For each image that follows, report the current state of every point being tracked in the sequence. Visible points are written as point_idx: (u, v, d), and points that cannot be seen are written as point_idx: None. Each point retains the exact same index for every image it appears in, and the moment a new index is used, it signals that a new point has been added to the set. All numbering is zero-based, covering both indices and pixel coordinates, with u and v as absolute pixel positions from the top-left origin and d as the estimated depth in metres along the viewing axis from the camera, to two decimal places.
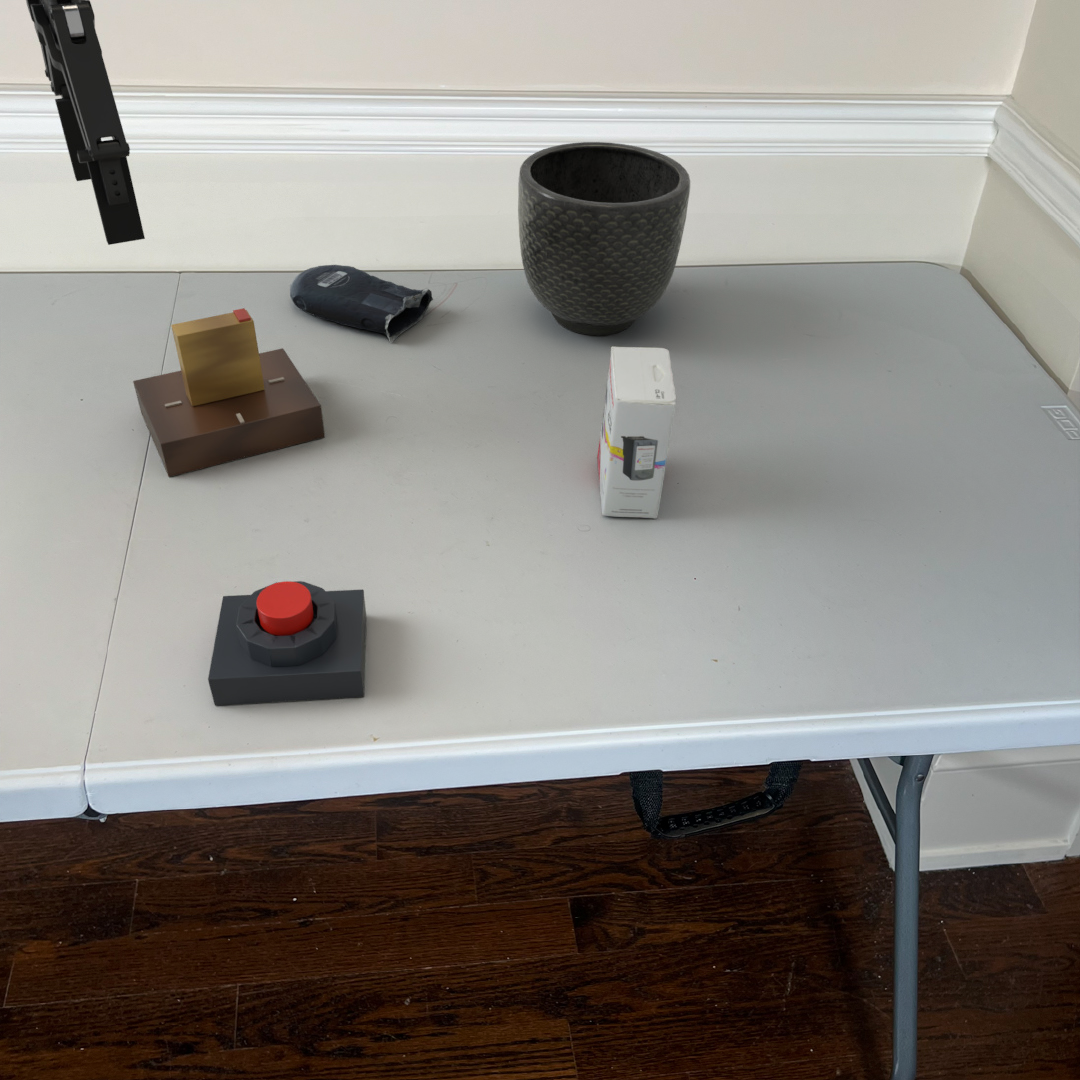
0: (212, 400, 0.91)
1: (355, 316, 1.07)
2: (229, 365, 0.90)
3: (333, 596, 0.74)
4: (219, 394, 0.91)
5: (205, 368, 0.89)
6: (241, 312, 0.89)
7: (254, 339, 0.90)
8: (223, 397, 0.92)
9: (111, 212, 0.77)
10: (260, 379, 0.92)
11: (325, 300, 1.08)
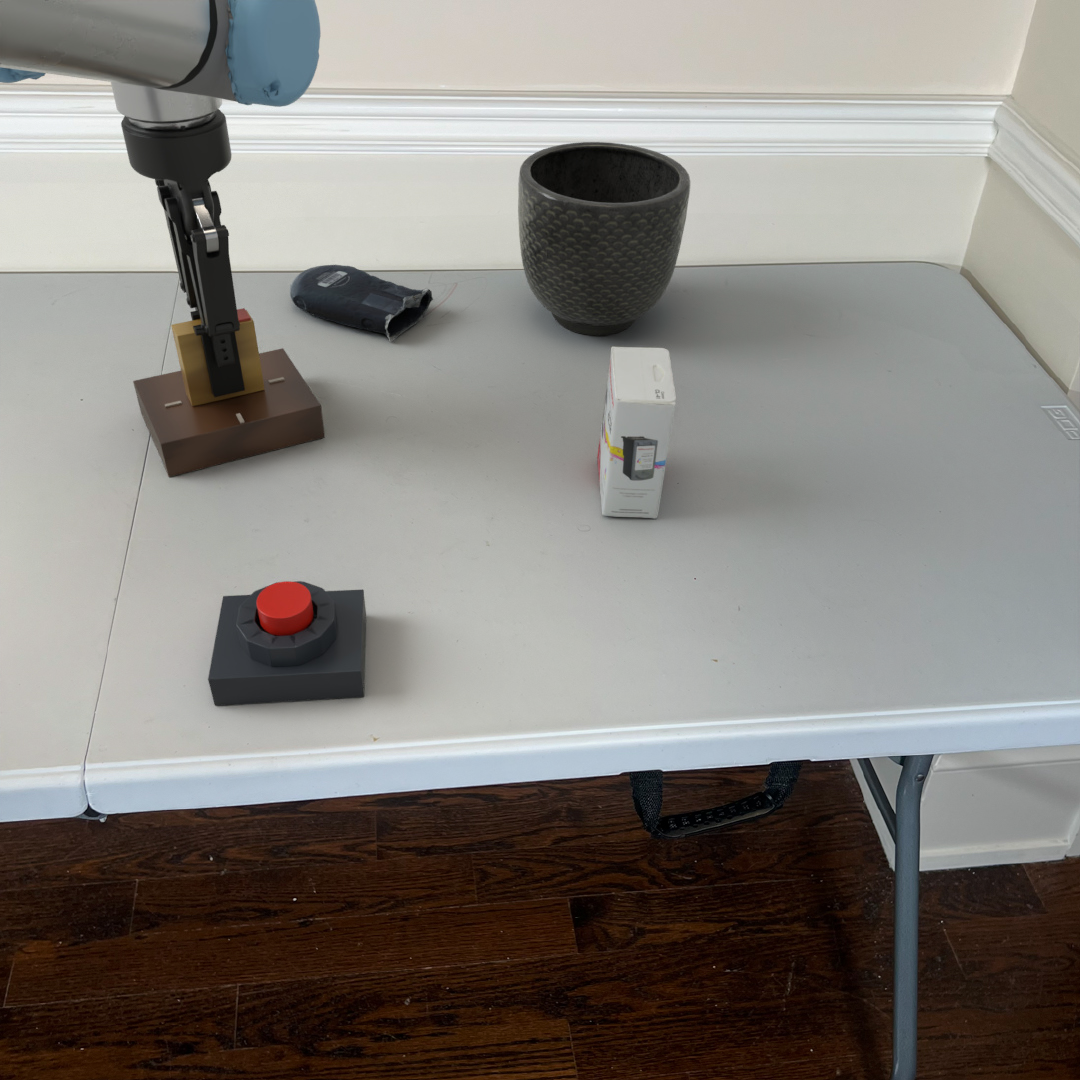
0: (212, 400, 0.91)
1: (355, 316, 1.07)
2: None
3: (333, 596, 0.74)
4: None
5: (205, 368, 0.89)
6: (241, 312, 0.89)
7: (254, 339, 0.90)
8: (223, 397, 0.92)
9: (218, 371, 0.89)
10: (260, 379, 0.92)
11: (325, 300, 1.08)
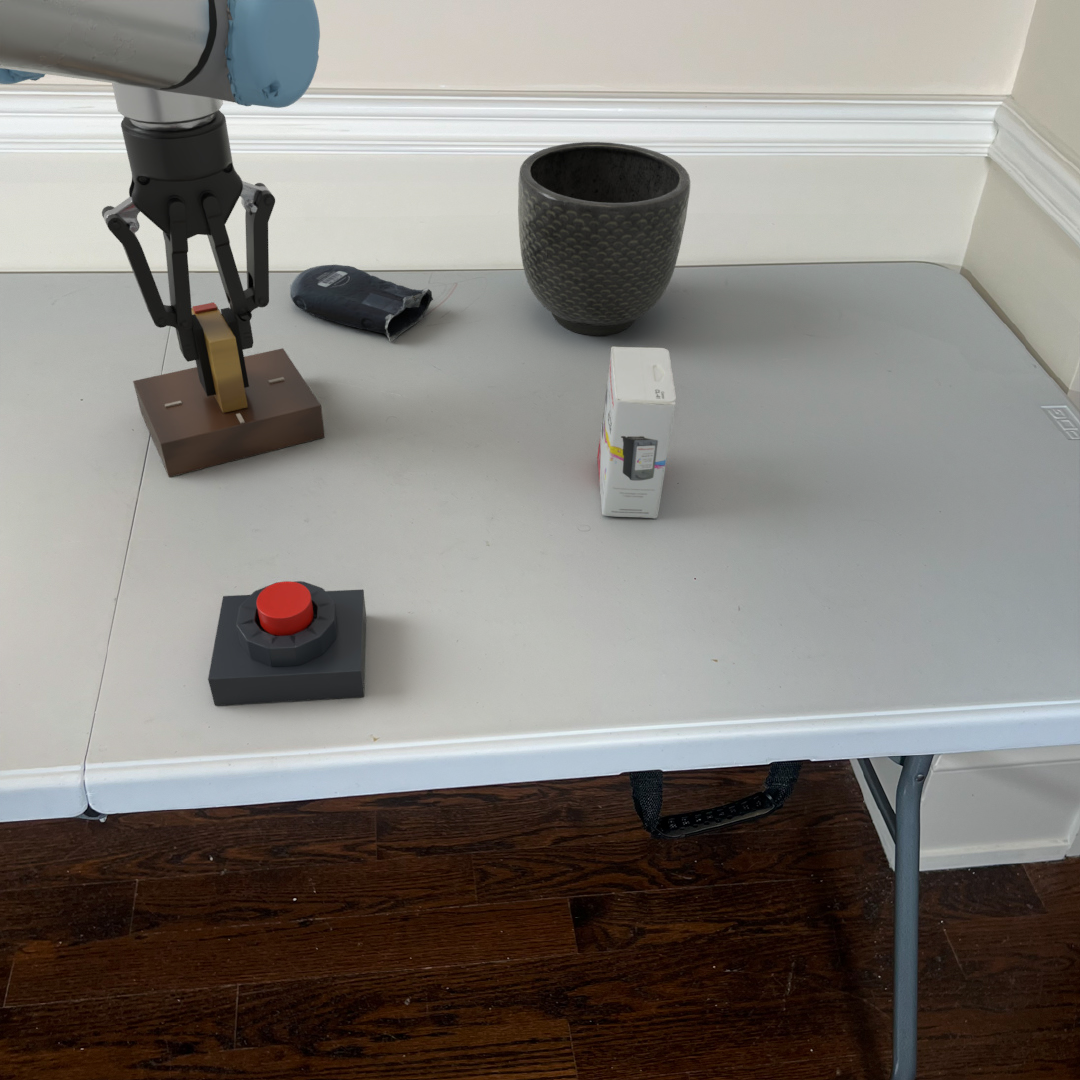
0: None
1: (355, 316, 1.07)
2: None
3: (333, 596, 0.74)
4: None
5: None
6: (201, 307, 0.90)
7: None
8: None
9: None
10: None
11: (325, 300, 1.08)
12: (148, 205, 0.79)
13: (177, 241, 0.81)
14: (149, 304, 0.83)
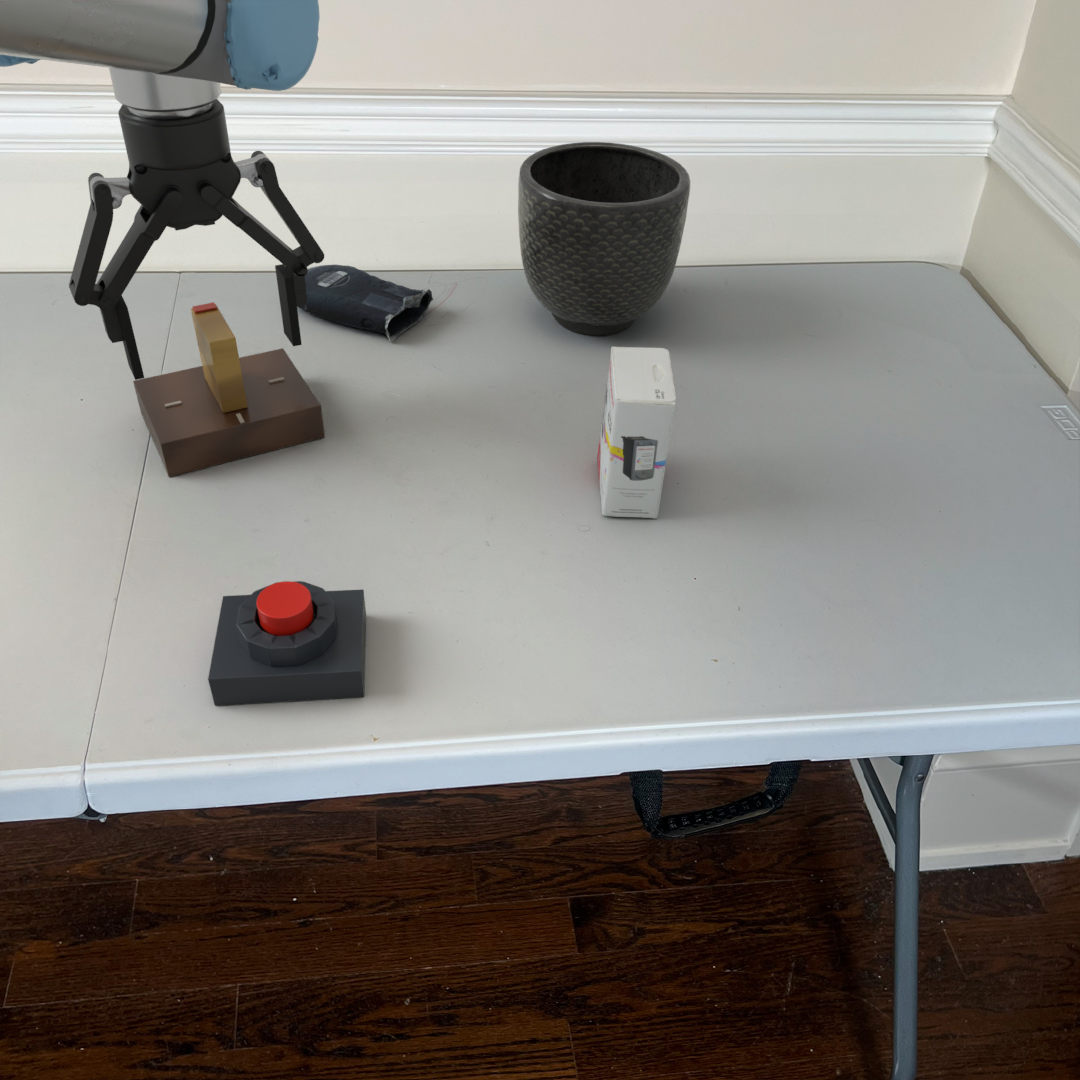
0: None
1: (355, 316, 1.07)
2: None
3: (333, 596, 0.74)
4: None
5: None
6: (201, 307, 0.90)
7: None
8: None
9: None
10: None
11: (325, 299, 1.08)
12: (142, 193, 0.78)
13: (154, 225, 0.79)
14: (82, 277, 0.79)
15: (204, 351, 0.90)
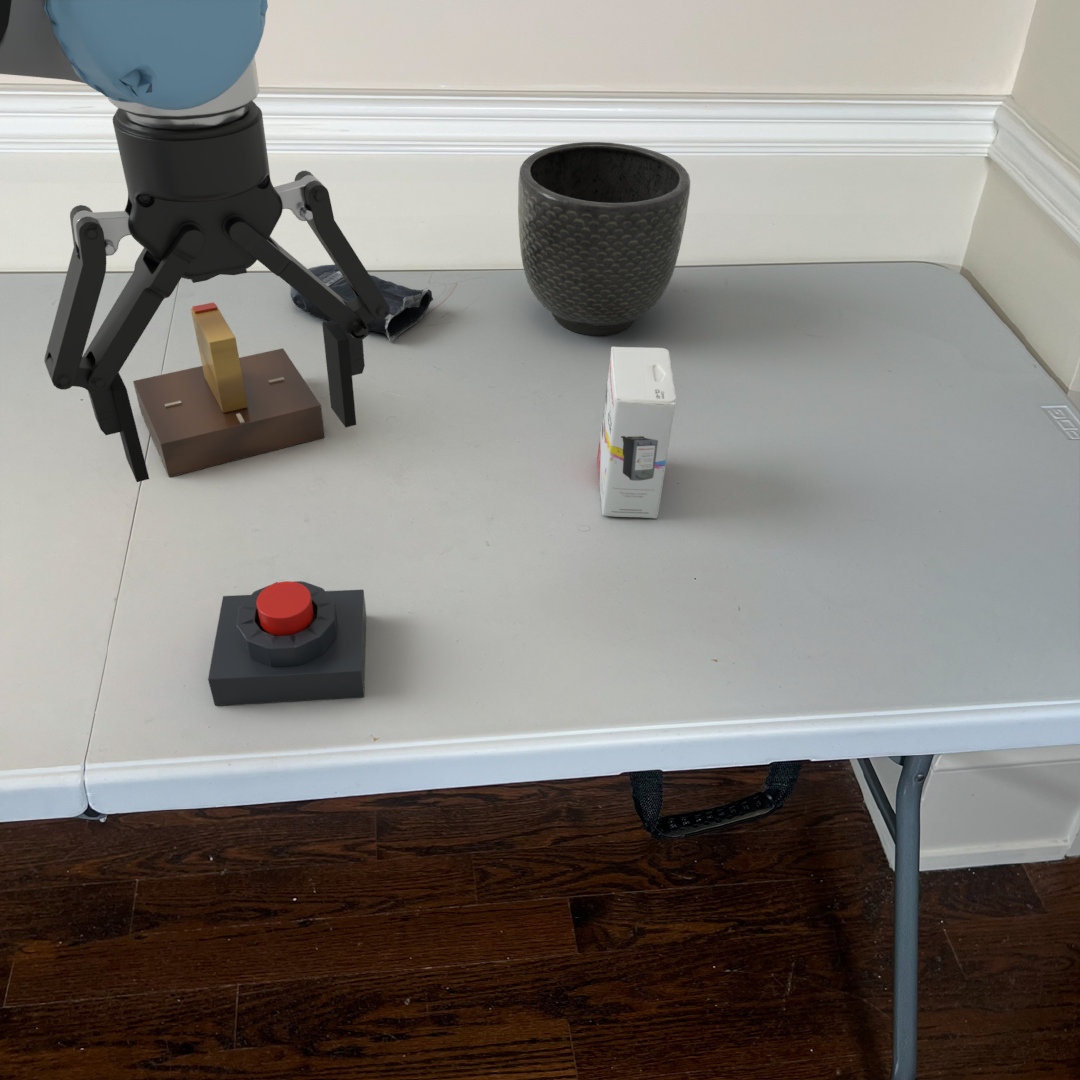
0: None
1: None
2: None
3: (333, 596, 0.74)
4: None
5: None
6: (201, 307, 0.90)
7: None
8: None
9: None
10: None
11: None
12: (148, 233, 0.55)
13: (164, 278, 0.57)
14: (63, 351, 0.57)
15: (204, 351, 0.90)
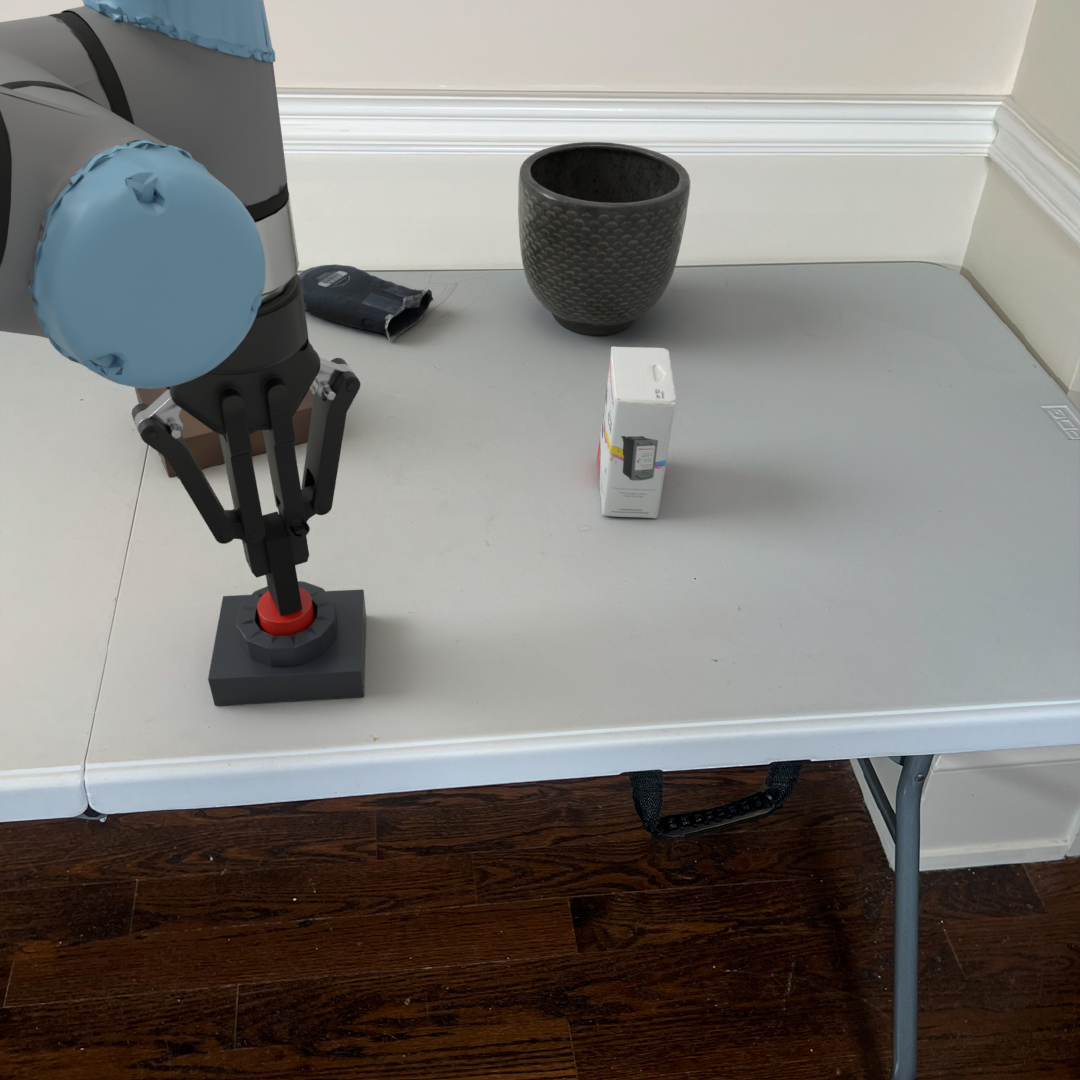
0: None
1: (355, 316, 1.07)
2: None
3: (333, 596, 0.74)
4: None
5: None
6: None
7: None
8: None
9: None
10: None
11: (325, 299, 1.08)
12: (193, 401, 0.56)
13: (236, 443, 0.59)
14: (207, 519, 0.61)
15: None
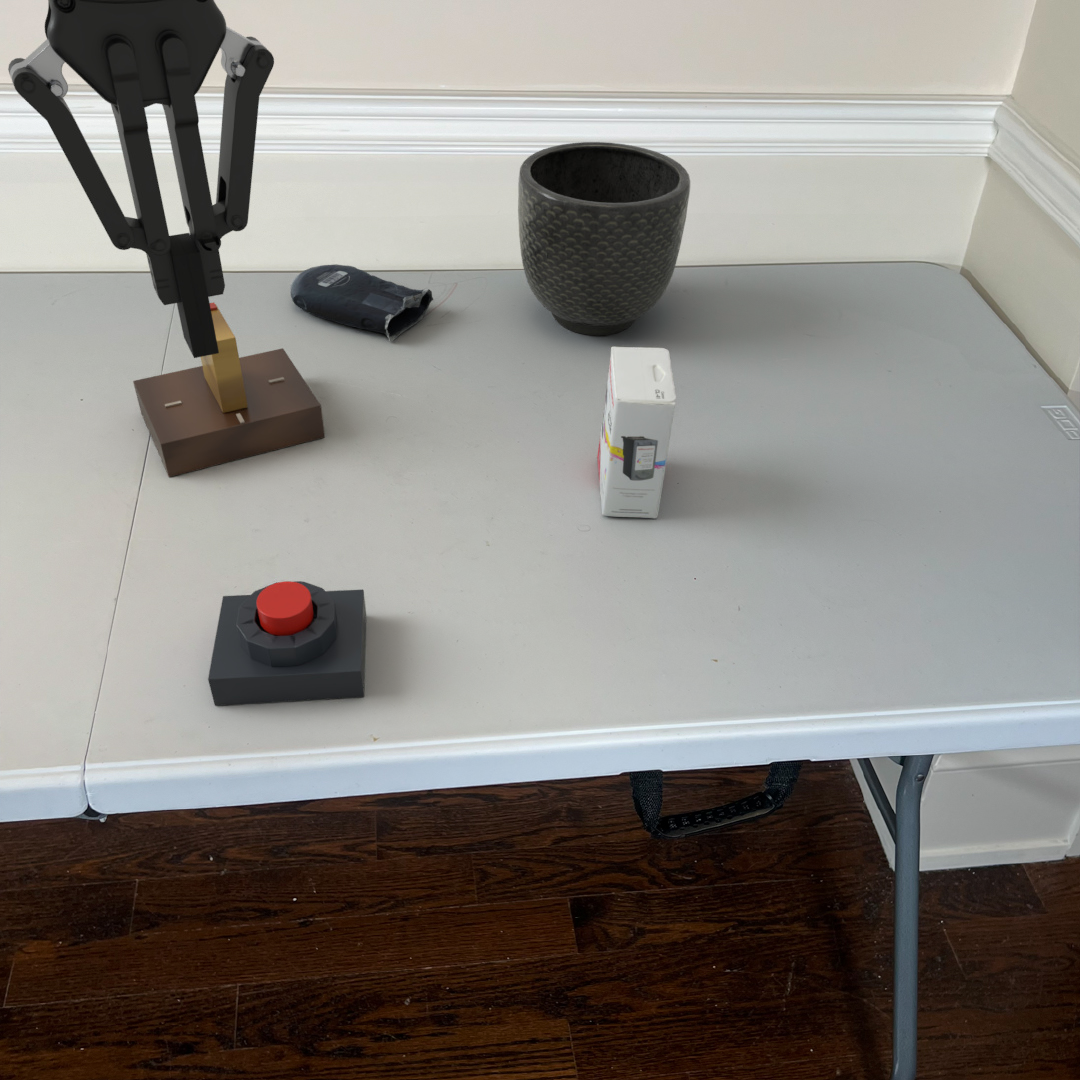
0: None
1: (355, 316, 1.07)
2: None
3: (333, 596, 0.74)
4: None
5: None
6: None
7: None
8: None
9: None
10: None
11: (325, 299, 1.08)
12: (75, 48, 0.50)
13: (128, 111, 0.52)
14: (100, 214, 0.54)
15: None
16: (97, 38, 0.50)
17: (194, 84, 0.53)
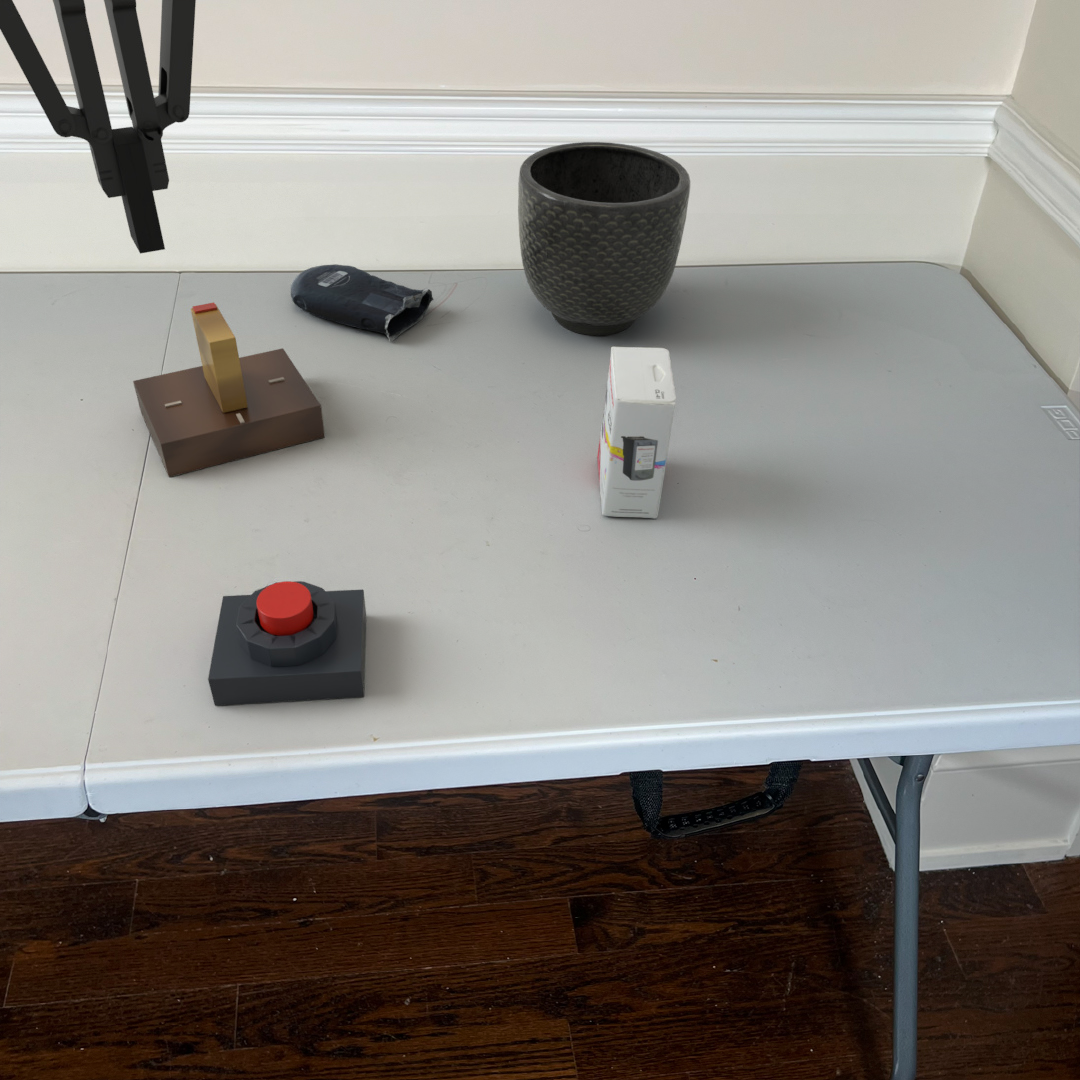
0: None
1: (355, 316, 1.07)
2: None
3: (333, 596, 0.74)
4: None
5: None
6: (201, 307, 0.90)
7: None
8: None
9: None
10: None
11: (325, 299, 1.08)
12: None
13: None
14: (41, 98, 0.55)
15: (204, 351, 0.90)
16: None
17: None
